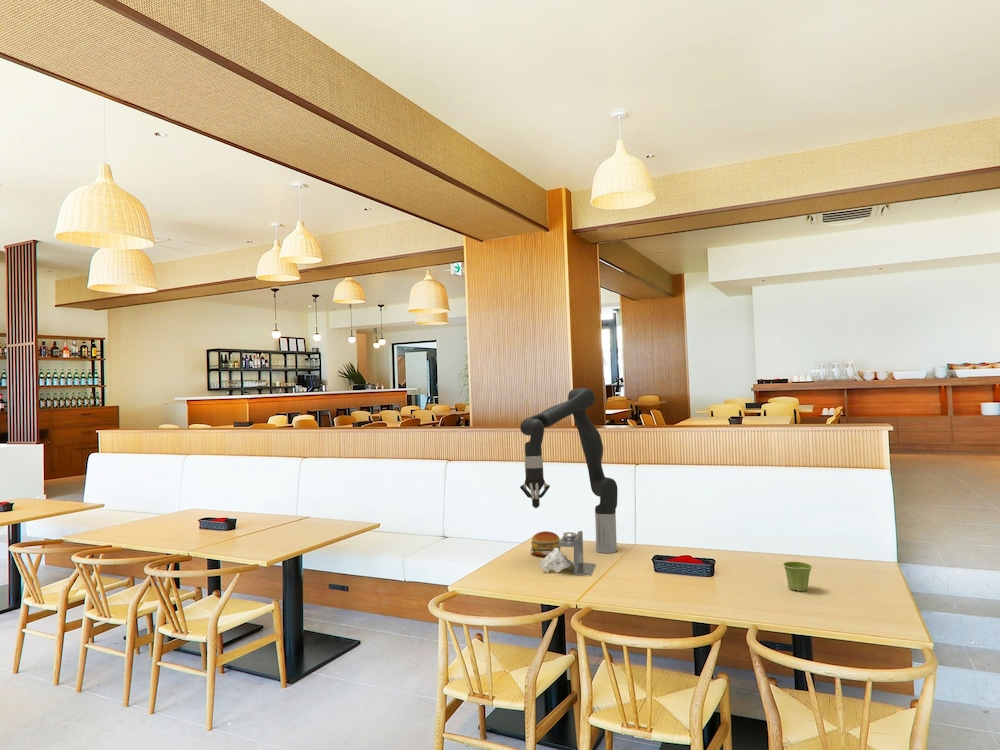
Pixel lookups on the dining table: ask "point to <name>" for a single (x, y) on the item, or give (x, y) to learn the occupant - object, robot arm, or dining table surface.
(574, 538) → the bracket
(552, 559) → the white irregular lump
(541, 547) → the burger
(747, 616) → the dining table surface
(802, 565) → the plant pot
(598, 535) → the robot arm
